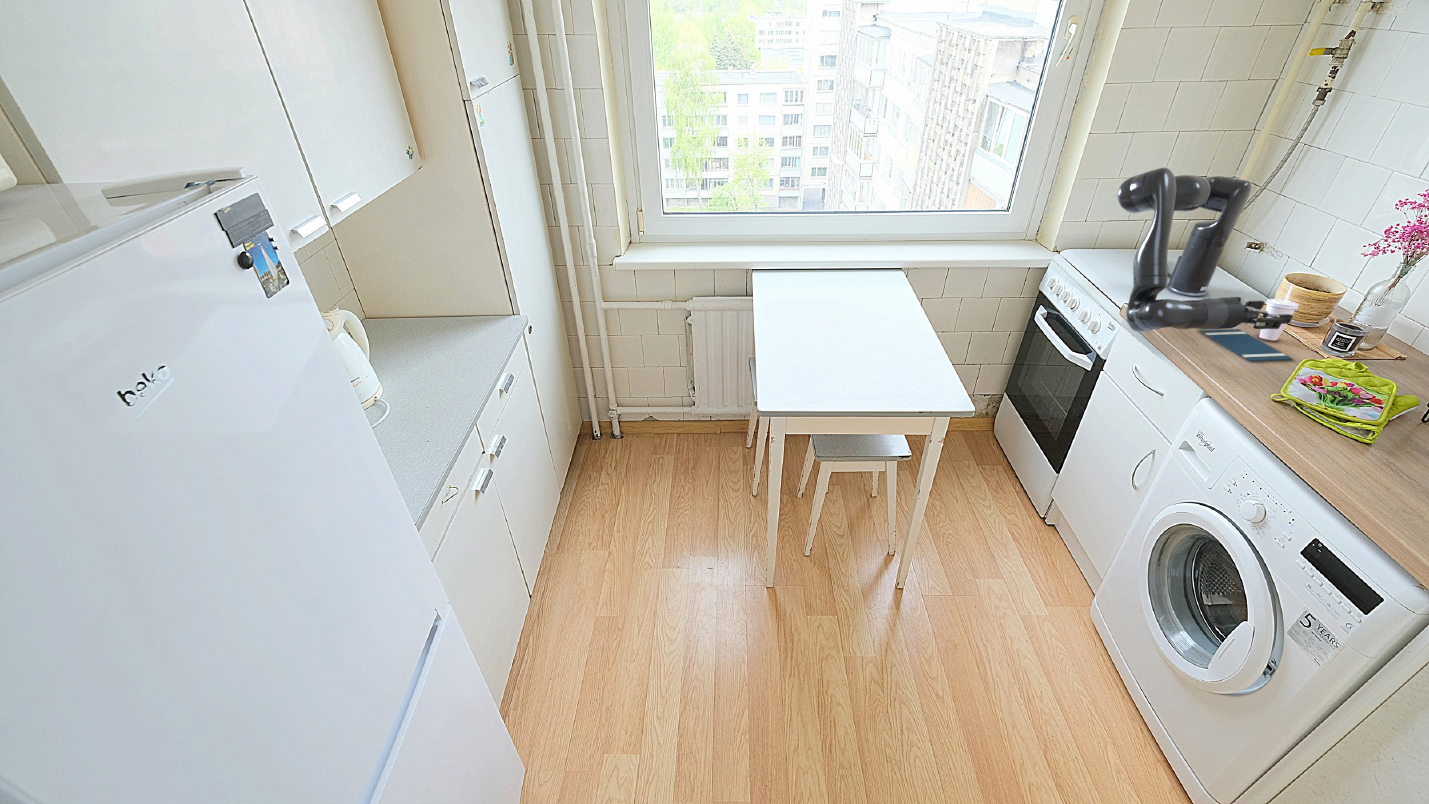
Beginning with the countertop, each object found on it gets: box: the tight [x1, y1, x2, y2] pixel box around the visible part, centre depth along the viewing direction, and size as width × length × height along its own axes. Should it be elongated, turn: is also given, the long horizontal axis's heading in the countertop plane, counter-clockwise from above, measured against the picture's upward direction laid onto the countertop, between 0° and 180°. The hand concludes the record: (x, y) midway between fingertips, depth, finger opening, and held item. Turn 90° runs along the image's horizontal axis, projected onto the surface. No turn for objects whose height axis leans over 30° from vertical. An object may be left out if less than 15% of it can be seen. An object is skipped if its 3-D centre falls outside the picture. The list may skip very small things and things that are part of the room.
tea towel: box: [1200, 328, 1293, 362], centre depth 162 cm, size 17×10×1 cm, turn 4°
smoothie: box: [1259, 284, 1300, 341], centre depth 163 cm, size 6×6×14 cm
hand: (1275, 311), depth 158 cm, fingers open, 8 cm apart
